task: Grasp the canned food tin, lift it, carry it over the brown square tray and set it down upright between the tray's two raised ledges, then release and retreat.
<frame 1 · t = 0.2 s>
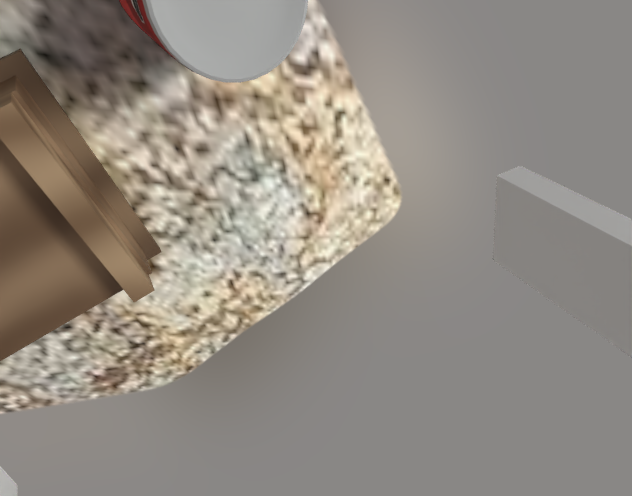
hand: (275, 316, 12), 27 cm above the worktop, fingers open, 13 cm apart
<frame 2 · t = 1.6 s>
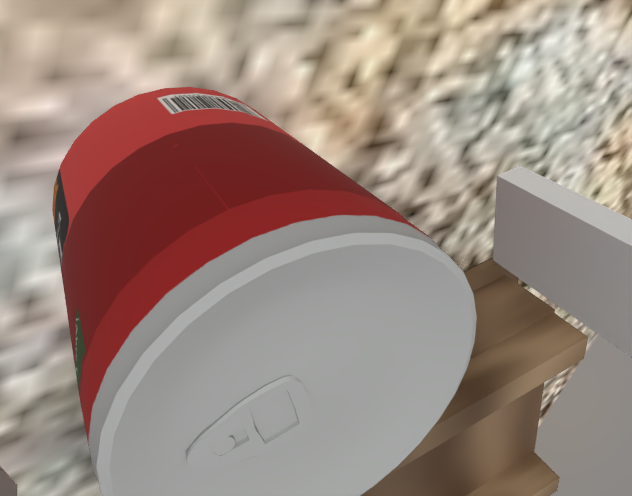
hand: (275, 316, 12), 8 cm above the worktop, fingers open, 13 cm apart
canned food: (174, 189, 19), on the worktop
brown square tray: (399, 407, 31), on the worktop
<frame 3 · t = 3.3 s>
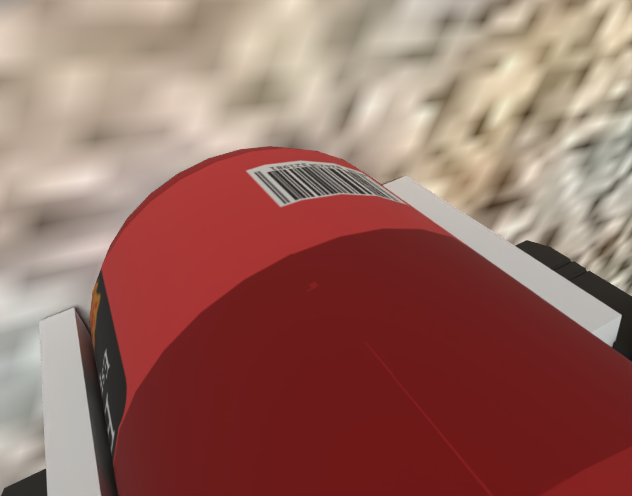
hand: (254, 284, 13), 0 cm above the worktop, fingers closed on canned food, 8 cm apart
canned food: (247, 274, 14), on the worktop, touching gripper
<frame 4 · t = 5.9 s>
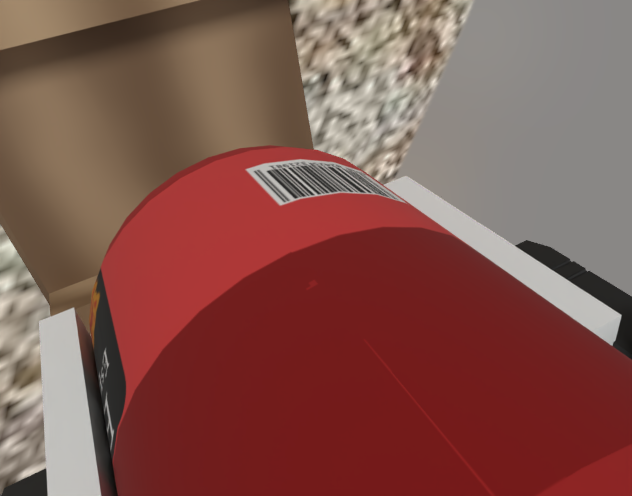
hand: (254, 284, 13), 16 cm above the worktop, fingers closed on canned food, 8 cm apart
canned food: (247, 273, 14), point 16 cm above the worktop, touching gripper
brown square tray: (143, 114, 26), on the worktop
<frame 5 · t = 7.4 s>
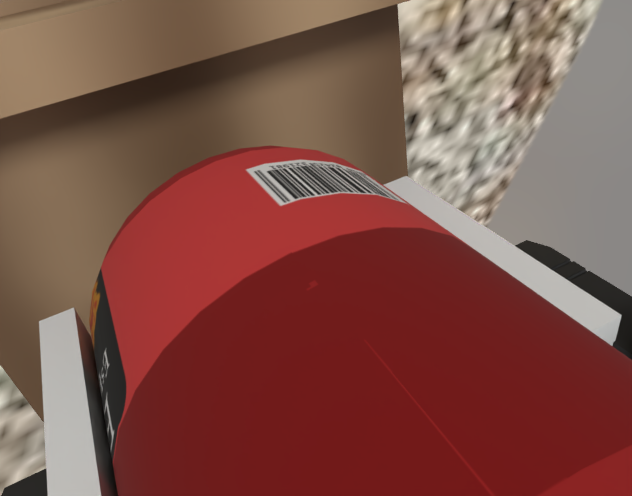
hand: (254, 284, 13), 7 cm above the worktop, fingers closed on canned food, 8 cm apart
canned food: (247, 273, 14), point 7 cm above the worktop, touching gripper
brown square tray: (181, 178, 19), on the worktop
when the fingers open (6 cm above the worktop, at t = 8.6 s): canned food drops 1 cm, resting on brown square tray.
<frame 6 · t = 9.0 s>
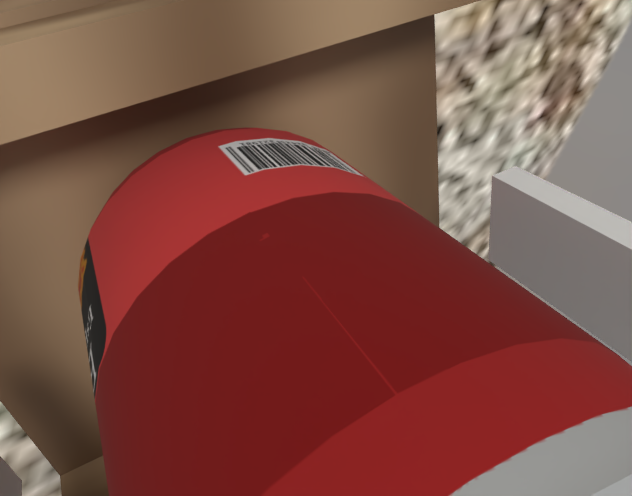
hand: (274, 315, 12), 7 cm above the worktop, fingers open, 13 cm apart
canned food: (227, 248, 15), point 4 cm above the worktop, touching brown square tray
brown square tray: (196, 195, 18), on the worktop
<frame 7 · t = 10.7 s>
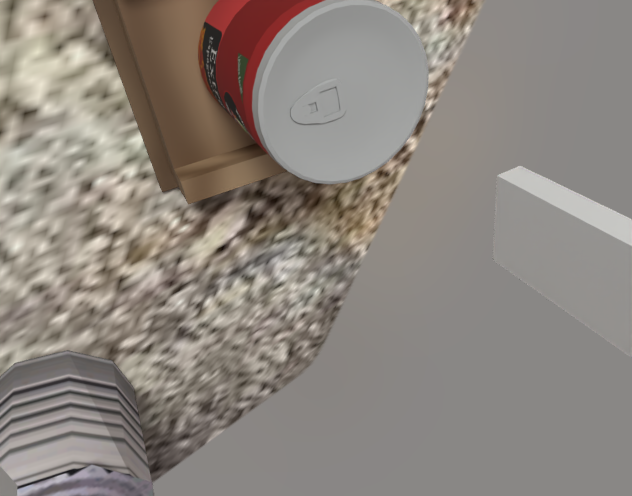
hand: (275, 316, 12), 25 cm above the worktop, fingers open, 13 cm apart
canned food: (261, 49, 30), point 4 cm above the worktop, touching brown square tray
can: (58, 405, 41), on the worktop
brown square tray: (244, 39, 33), on the worktop
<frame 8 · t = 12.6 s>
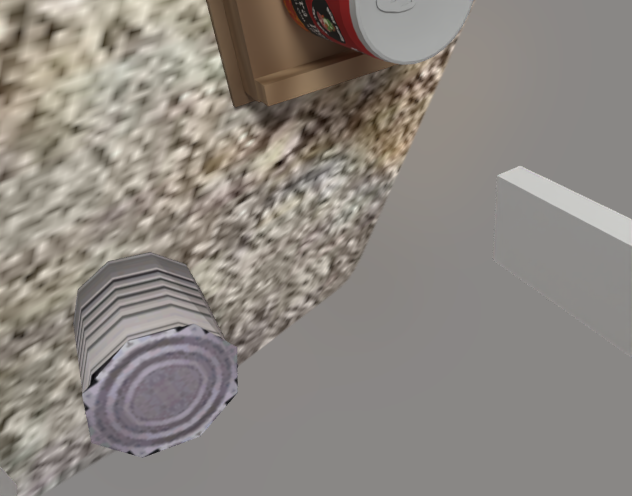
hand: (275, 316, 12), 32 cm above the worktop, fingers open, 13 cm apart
can: (139, 305, 48), on the worktop
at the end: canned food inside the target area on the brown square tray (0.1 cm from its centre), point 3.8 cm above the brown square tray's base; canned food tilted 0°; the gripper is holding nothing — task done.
